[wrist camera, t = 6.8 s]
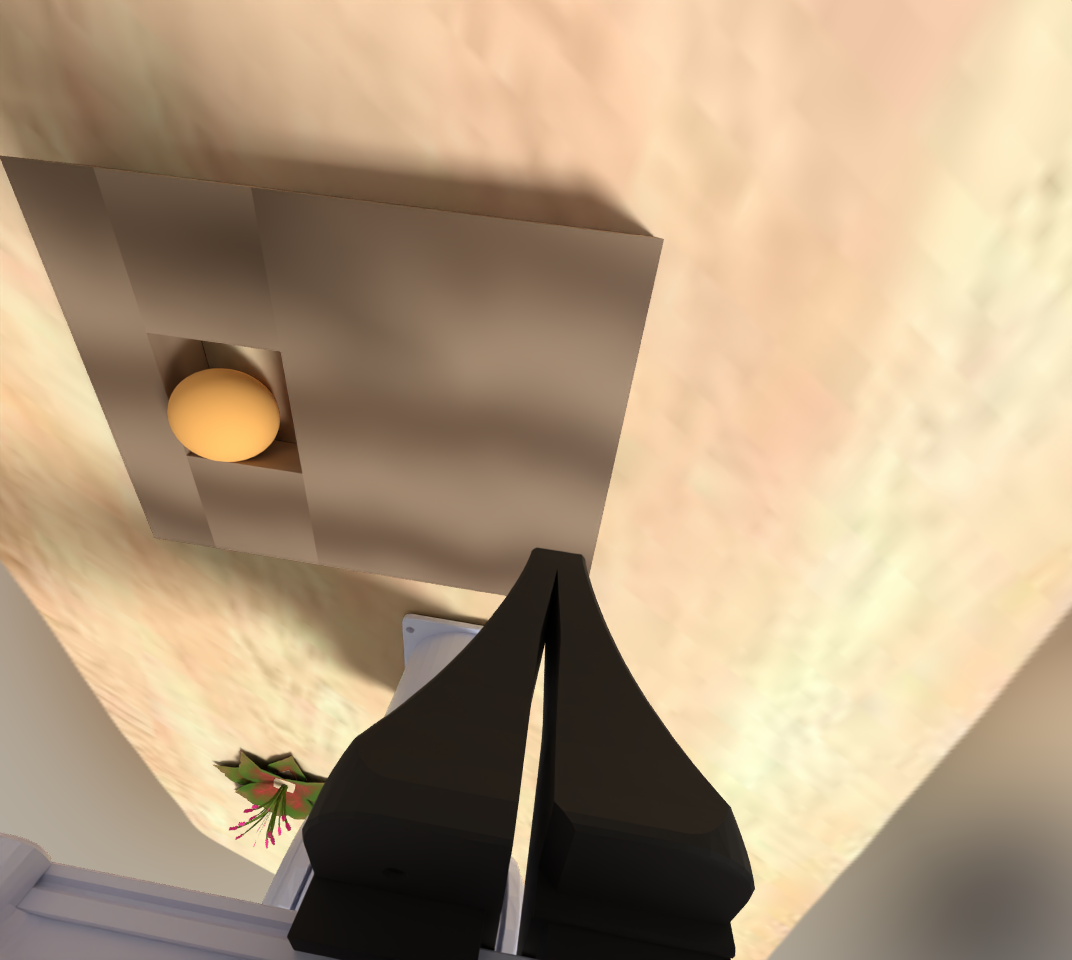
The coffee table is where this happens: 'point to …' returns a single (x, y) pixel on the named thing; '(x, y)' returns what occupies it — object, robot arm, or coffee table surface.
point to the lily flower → (273, 792)
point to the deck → (354, 365)
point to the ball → (223, 415)
